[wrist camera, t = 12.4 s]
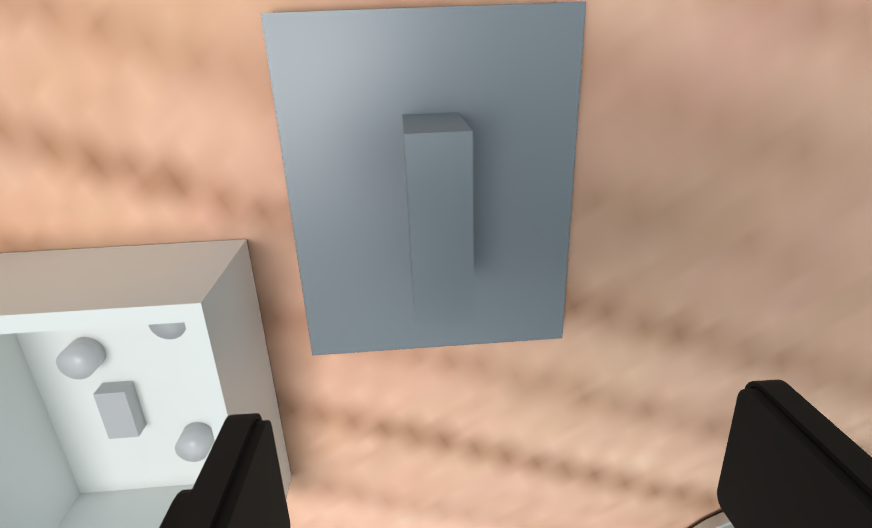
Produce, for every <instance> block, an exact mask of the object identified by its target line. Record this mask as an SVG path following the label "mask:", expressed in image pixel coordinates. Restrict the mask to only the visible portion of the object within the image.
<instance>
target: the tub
mask: <svg viewBox="0 0 872 528" xmlns="http://www.w3.org/2000/svg"><path fill="white" fill-rule="evenodd" d="M250 413H259V414H260V415H261V417H262V420H270V422H271V424H272V428H273V434H274V439H275V444H276V450H277V455H278V460H279V466H280V471H281V476H282V481H283V487H284V492H285V497H286V498H287V493H288V489H289V485H290V480H291V472H290V467H289V461H288V456H287V451H286V446H285V440H284V435H283V430H282V424H281V419H280V414H279V409H278V403H277V398H276V393H275V387H274V382H273V377H272V372H271V366H270V361H269V356H268V350H267V345H266V340H265V335H264V329H263V324H262V319H261V313H260V308H259V303H258V298H257V292H256V287H255V282H254V276H253V271H252V266H251V261H250V255H249V250H248V245H247V239H240V240H223V241H205V242H188V243H170V244H152V245H135V246H117V247H100V248H82V249H65V250H47V251H29V252H12V253H0V528H159V527H160V525H161V523H162V521H163V519H164V517H165V515H166V513H167V511H168V509H169V507H170V505H171V503H172V501H173V500H174V498H175V496H176V495H177V493H179V492H180V491H181V490H186V489H192V488H193V486H194V484H195V482H196V480H197V478H198V475H199V473H200V471H201V469H202V467H203V465H204V463H205V461H206V459H207V457H208V455H209V453H210V450H211V448H212V446H213V444H214V442H215V440H216V438H217V436H218V434H219V432H220V430H221V427H222V425H223V423H224V421H225V419H226V418H227V416H229V415H234V414H250Z"/></svg>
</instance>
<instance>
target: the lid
mask: <svg viewBox="0 0 872 528" xmlns="http://www.w3.org/2000/svg"><path fill="white" fill-rule="evenodd" d="M585 8H586V2H562V3H533V4H505V5H477V6H449V7H420V8H392V9H364V10H336V11H308V12H279V13H261V19H262V26H263V33H264V39H265V46H266V52H267V59H268V66H269V72H270V79H271V85H272V92H273V99H274V105H275V112H276V118H277V125H278V132H279V138H280V145H281V152H282V158H283V165H284V171H285V178H286V185H287V191H288V198H289V204H290V211H291V218H292V224H293V231H294V237H295V244H296V251H297V257H298V264H299V270H300V277H301V284H302V290H303V297H304V303H305V310H306V317H307V323H308V330H309V336H310V343H311V350H312V355H326V354H341V353H355V352H369V351H384V350H398V349H413V348H427V347H441V346H456V345H470V344H485V343H499V342H513V341H528V340H542V339H557V338H562V333H563V319H564V305H565V291H566V277H567V262H568V248H569V234H570V220H571V206H572V192H573V178H574V163H575V149H576V135H577V121H578V107H579V93H580V78H581V64H582V50H583V36H584V22H585Z"/></svg>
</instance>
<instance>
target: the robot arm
mask: <svg viewBox="0 0 872 528" xmlns="http://www.w3.org/2000/svg"><path fill="white" fill-rule="evenodd" d="M717 497H718V501H719V504H720V507H721V509H722V510H723V512H722V513H719V514H717V515H714V516H712V517H710V518H708V519H706V520H704V521H702V522H701V523H699V524H698V525H696V526H694V527H693V528H872V457H871V456H869V455H868V454H867V453H866V452H865V451H864V450H863V449H861V448H860V447H859V446H858V445H857V444H856V443H855V442H853V441H852V440H851V439H850V438H849V437H848V436H847V435H845V434H844V433H843V432H842V431H841V430H840V429H839V428H837V427H836V426H835V425H834V424H833V423H832V422H831V421H830V420H828V419H827V418H826V417H825V416H824V415H823V414H822V413H820V412H819V411H818V410H817V409H816V408H815V407H814V406H812V405H811V404H810V403H809V402H808V401H807V400H806V399H804V398H803V397H802V396H801V395H800V394H799V393H798V392H796V391H795V390H794V389H793V388H792V387H791V386H790V385H788V384H787V383H786V382H784V381H783V380H764V381H752V382H749V383H748V384H747V385H746V387H745V389H743V390H741V391H740V392H739V394H738V397H737V401H736V406H735V411H734V415H733V420H732V424H731V429H730V433H729V438H728V443H727V447H726V452H725V456H724V461H723V466H722V470H721V475H720V479H719V484H718V489H717ZM159 528H290V519H289V513H288V508H287V503H286V497H285V492H284V487H283V481H282V476H281V471H280V466H279V460H278V455H277V450H276V444H275V439H274V434H273V428H272V424H271V422H270V420H262V417H261V415H260V414H259V413H250V414H234V415H229V416H227V418H226V419H225V421H224V423H223V425H222V427H221V430H220V432H219V434H218V436H217V438H216V440H215V442H214V444H213V446H212V448H211V450H210V453H209V455H208V457H207V459H206V461H205V463H204V465H203V467H202V469H201V471H200V473H199V475H198V478H197V480H196V482H195V484H194V486H193V488H192V489H186V490H181V491H180V492H179V493H177V495H176V496H175V498H174V500H173V501H172V503H171V505H170V507H169V509H168V511H167V513H166V515H165V517H164V519H163V521H162V523H161V525H160V527H159Z"/></svg>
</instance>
